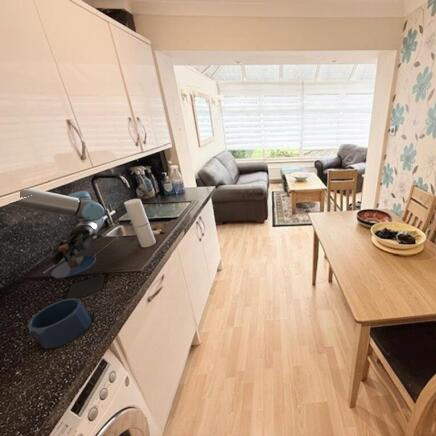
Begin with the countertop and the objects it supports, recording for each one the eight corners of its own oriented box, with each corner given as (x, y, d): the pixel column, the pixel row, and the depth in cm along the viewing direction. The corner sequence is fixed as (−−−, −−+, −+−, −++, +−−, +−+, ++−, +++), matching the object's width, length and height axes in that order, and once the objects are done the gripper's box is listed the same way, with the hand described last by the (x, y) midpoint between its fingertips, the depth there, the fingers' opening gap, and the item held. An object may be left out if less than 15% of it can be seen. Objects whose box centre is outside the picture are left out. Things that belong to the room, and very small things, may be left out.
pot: (36, 357, 71) (20, 337, 67) (48, 327, 81) (35, 309, 77) (88, 336, 76) (76, 316, 73) (94, 310, 86) (83, 293, 83)
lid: (48, 284, 86) (33, 261, 81) (57, 265, 96) (44, 244, 92) (94, 270, 92) (82, 248, 87) (98, 254, 102) (88, 233, 98)
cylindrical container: (139, 249, 124) (121, 205, 113) (144, 242, 130) (127, 199, 120) (153, 246, 125) (137, 202, 114) (157, 240, 132) (142, 198, 121)
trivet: (65, 303, 91) (64, 302, 91) (71, 285, 100) (70, 284, 100) (102, 290, 96) (102, 289, 96) (105, 274, 106) (105, 273, 105)
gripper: (108, 235, 110) (90, 262, 90) (67, 243, 105) (38, 274, 85) (101, 220, 107) (81, 246, 87) (58, 229, 102) (26, 257, 82)
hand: (60, 260), depth 86 cm, fingers closed on lid, 3 cm apart
